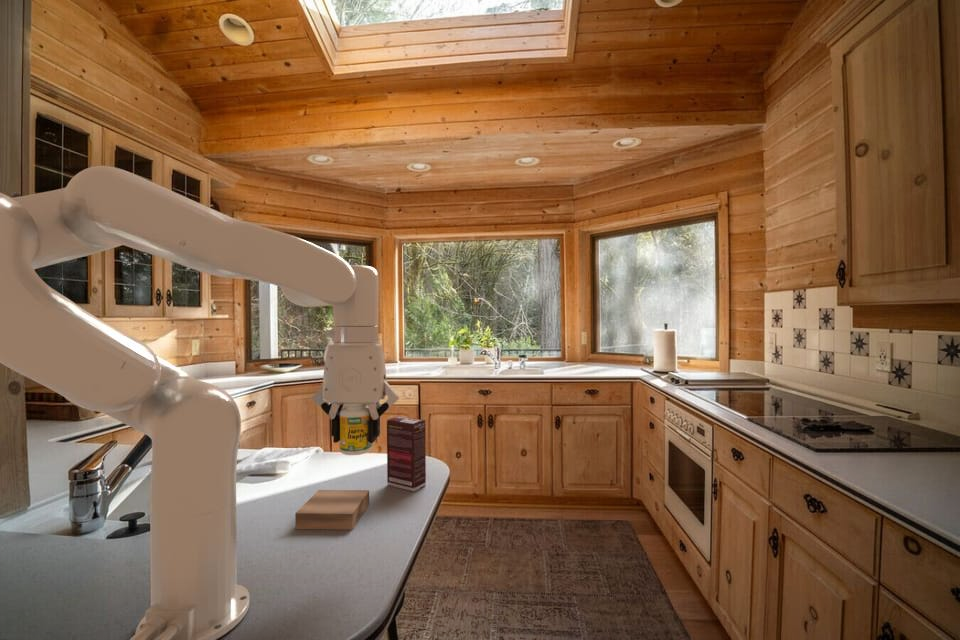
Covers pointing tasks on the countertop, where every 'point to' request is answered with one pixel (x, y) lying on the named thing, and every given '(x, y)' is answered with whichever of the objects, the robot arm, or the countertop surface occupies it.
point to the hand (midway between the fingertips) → (355, 439)
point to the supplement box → (406, 453)
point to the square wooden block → (332, 509)
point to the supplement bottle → (354, 429)
